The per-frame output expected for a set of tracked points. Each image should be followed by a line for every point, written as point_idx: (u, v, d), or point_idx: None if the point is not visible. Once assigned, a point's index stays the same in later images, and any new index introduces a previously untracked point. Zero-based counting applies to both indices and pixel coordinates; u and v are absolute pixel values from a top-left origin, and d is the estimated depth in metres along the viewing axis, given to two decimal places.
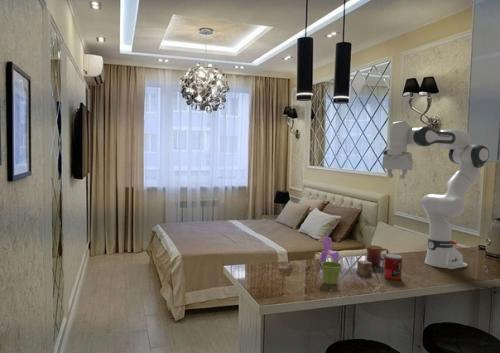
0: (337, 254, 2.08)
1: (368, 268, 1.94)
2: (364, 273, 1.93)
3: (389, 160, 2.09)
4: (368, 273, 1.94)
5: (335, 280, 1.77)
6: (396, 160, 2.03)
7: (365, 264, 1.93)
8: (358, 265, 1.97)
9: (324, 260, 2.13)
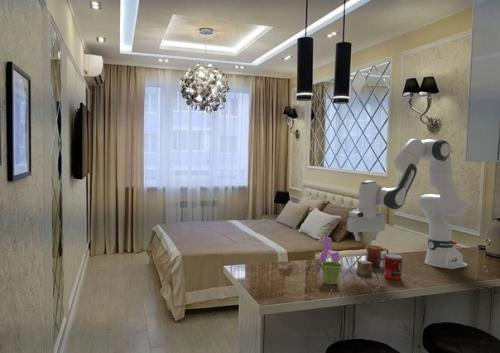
0: (337, 254, 2.08)
1: (368, 268, 1.94)
2: (364, 273, 1.93)
3: (360, 222, 1.92)
4: (368, 273, 1.94)
5: (335, 280, 1.77)
6: (370, 222, 1.93)
7: (365, 264, 1.93)
8: (358, 265, 1.97)
9: (324, 260, 2.13)
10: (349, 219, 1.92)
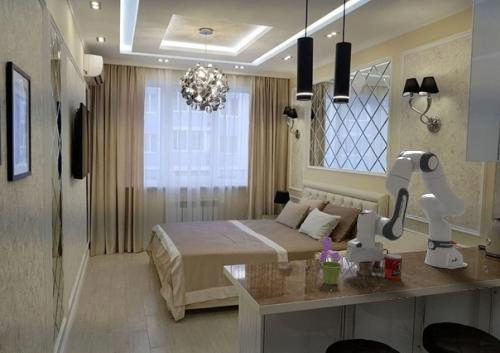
0: (337, 254, 2.08)
1: (368, 268, 1.94)
2: (364, 273, 1.93)
3: (359, 252, 1.93)
4: (368, 273, 1.94)
5: (335, 280, 1.77)
6: (369, 252, 1.94)
7: (365, 264, 1.93)
8: None
9: (324, 260, 2.13)
10: (348, 249, 1.93)
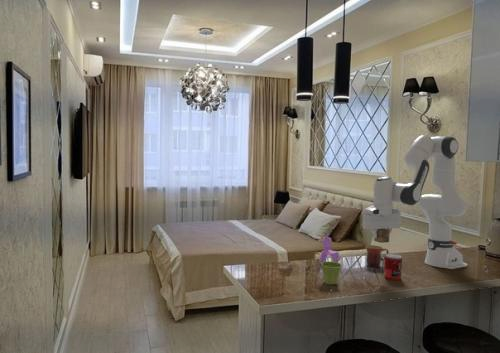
0: (337, 254, 2.08)
1: (386, 235, 1.90)
2: (381, 240, 1.90)
3: (376, 219, 1.89)
4: (385, 240, 1.90)
5: (335, 280, 1.77)
6: (386, 219, 1.91)
7: (382, 231, 1.89)
8: None
9: (324, 260, 2.13)
10: (364, 216, 1.90)
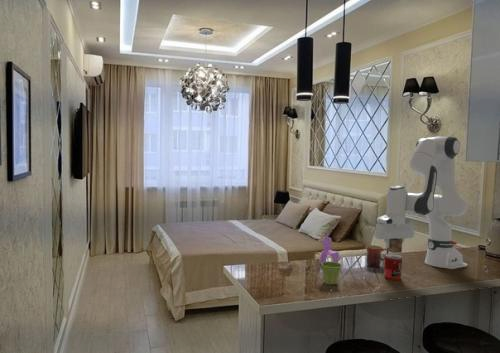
0: (337, 254, 2.08)
1: (399, 245, 1.87)
2: (394, 250, 1.87)
3: (389, 229, 1.86)
4: (398, 250, 1.87)
5: (335, 280, 1.77)
6: (399, 228, 1.88)
7: (395, 241, 1.87)
8: None
9: (324, 260, 2.13)
10: (377, 226, 1.87)
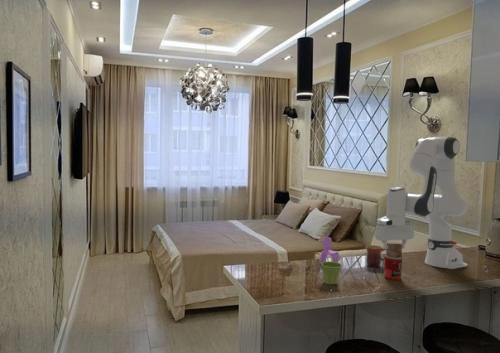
0: (337, 254, 2.08)
1: (399, 249, 1.88)
2: (394, 255, 1.87)
3: (389, 230, 1.86)
4: (398, 255, 1.88)
5: (335, 280, 1.77)
6: (399, 230, 1.88)
7: (395, 245, 1.87)
8: None
9: (324, 260, 2.13)
10: (377, 227, 1.87)
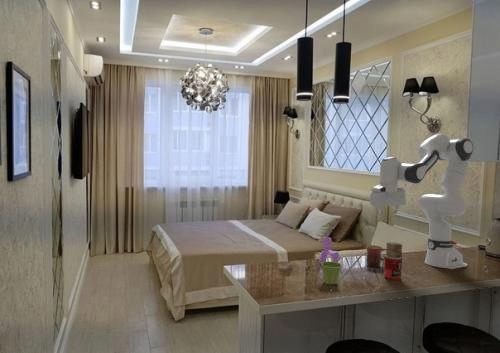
0: (337, 254, 2.08)
1: (399, 249, 1.88)
2: (394, 255, 1.87)
3: (382, 197, 2.02)
4: (398, 255, 1.88)
5: (335, 280, 1.77)
6: (392, 196, 2.04)
7: (395, 245, 1.87)
8: (387, 247, 1.90)
9: (324, 260, 2.13)
10: (372, 194, 2.02)
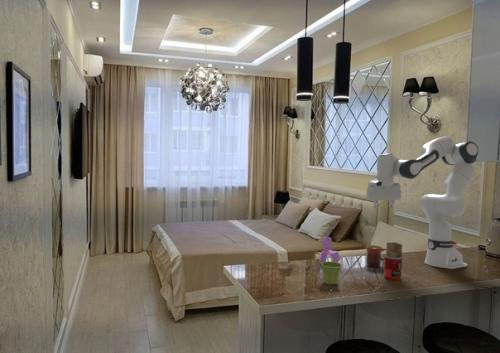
0: (337, 254, 2.08)
1: (399, 249, 1.87)
2: (394, 255, 1.87)
3: (378, 191, 2.10)
4: (398, 255, 1.88)
5: (335, 280, 1.77)
6: (387, 191, 2.12)
7: (395, 245, 1.87)
8: (387, 247, 1.90)
9: (324, 260, 2.13)
10: (368, 188, 2.11)
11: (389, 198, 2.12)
